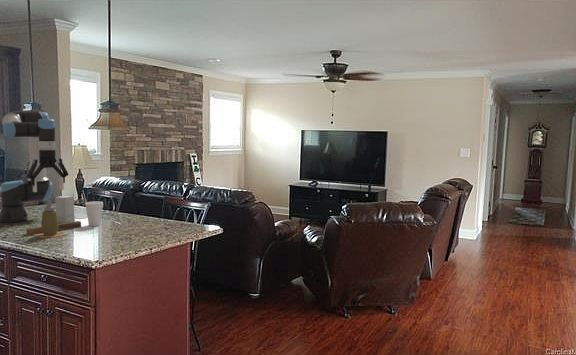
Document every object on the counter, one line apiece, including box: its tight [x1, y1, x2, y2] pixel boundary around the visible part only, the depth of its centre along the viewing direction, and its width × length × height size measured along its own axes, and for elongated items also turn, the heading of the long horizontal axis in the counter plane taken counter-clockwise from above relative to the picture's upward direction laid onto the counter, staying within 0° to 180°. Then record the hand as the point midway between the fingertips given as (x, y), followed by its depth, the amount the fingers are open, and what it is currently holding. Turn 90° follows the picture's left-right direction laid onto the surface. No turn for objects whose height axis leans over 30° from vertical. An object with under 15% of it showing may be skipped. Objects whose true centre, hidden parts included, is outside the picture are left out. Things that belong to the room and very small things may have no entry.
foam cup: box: [85, 201, 104, 227], centre depth 272 cm, size 10×9×13 cm
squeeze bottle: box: [40, 199, 59, 235], centre depth 244 cm, size 8×8×18 cm
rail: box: [26, 220, 82, 240], centre depth 252 cm, size 16×28×3 cm, turn 142°
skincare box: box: [54, 195, 76, 224], centre depth 276 cm, size 8×7×16 cm
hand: (48, 190), depth 243 cm, fingers open, 13 cm apart
